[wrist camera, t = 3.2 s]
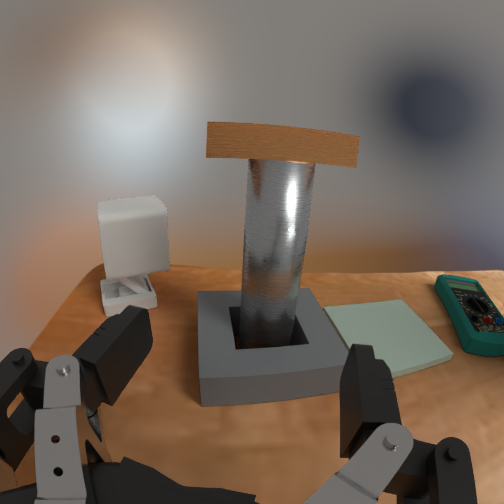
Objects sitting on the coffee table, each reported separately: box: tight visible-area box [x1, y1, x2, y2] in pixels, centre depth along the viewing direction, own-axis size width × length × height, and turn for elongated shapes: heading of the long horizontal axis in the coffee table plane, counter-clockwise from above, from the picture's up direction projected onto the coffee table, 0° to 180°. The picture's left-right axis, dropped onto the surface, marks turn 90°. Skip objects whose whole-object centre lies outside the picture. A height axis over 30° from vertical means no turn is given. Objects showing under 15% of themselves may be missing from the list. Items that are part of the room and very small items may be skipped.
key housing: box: [198, 288, 349, 406], centre depth 22 cm, size 10×10×3 cm
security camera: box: [97, 195, 170, 317], centre depth 27 cm, size 6×7×10 cm
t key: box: [206, 122, 359, 349], centre depth 19 cm, size 9×4×17 cm, turn 99°
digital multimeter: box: [434, 274, 504, 357], centre depth 27 cm, size 7×15×3 cm, turn 164°
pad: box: [323, 299, 453, 378], centre depth 25 cm, size 10×10×1 cm
